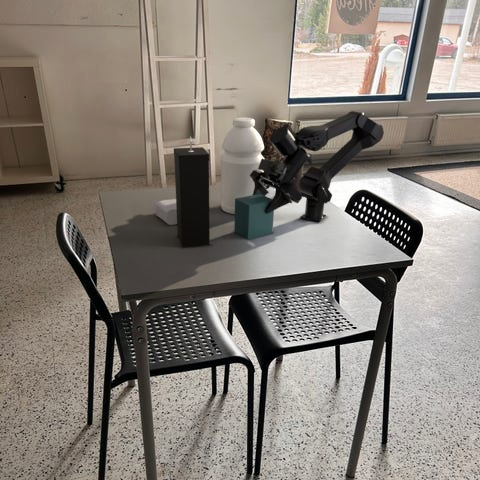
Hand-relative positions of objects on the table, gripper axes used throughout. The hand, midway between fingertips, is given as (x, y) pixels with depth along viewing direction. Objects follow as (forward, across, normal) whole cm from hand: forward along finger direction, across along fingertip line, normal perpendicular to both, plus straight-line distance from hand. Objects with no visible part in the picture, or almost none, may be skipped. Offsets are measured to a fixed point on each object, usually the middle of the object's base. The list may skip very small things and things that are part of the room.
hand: (257, 209), depth 144 cm
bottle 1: (-1, -19, +10) cm, 22 cm away
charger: (+16, -25, -6) cm, 30 cm away
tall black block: (+19, -3, -9) cm, 21 cm away
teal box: (+2, 0, 0) cm, 2 cm away
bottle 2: (-17, -22, +27) cm, 39 cm away
